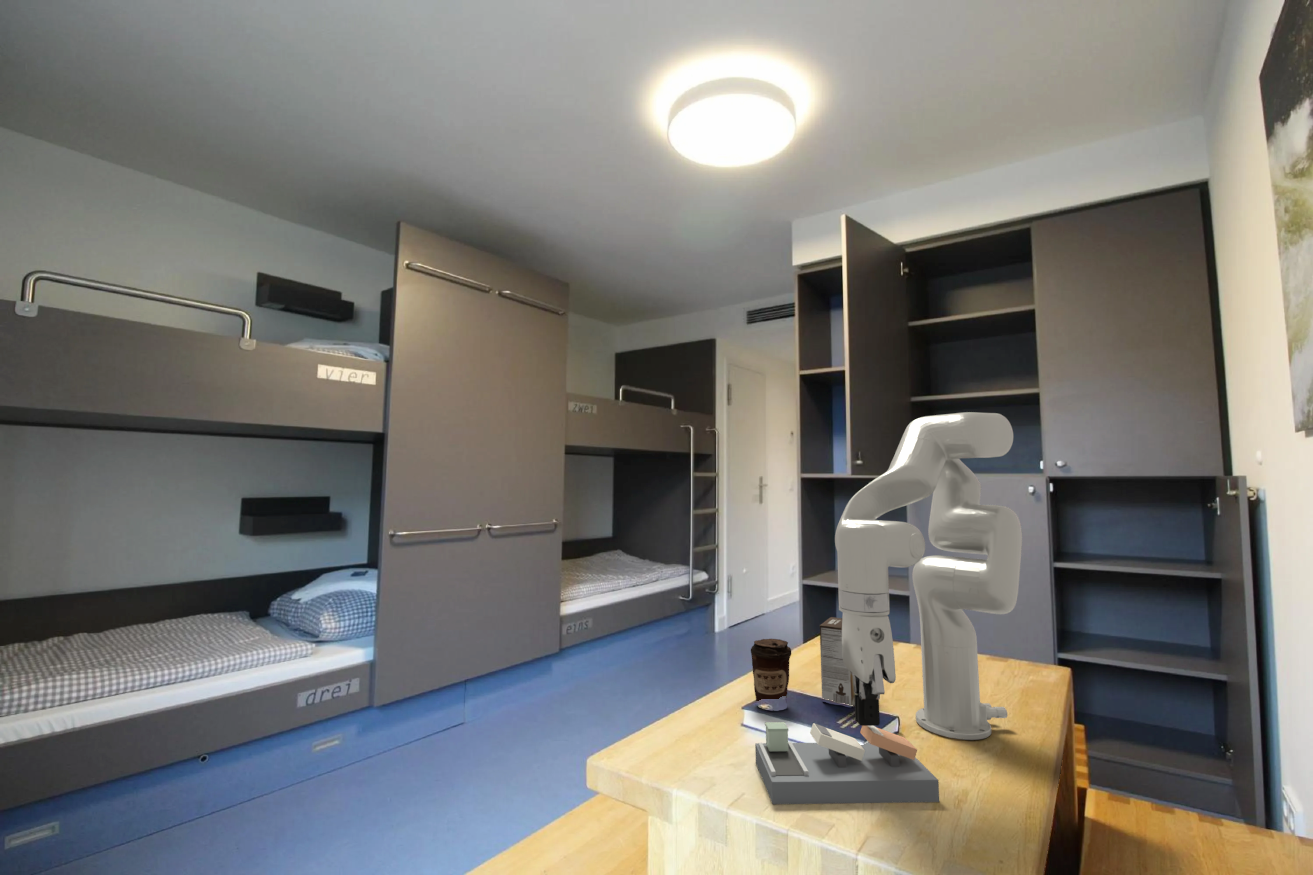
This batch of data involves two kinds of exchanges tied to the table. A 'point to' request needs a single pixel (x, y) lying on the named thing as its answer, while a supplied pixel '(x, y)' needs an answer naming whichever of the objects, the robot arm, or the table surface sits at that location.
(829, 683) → the coffee box
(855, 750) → the rocker cream
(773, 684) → the coffee cup
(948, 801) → the table surface
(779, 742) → the green slider block
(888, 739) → the rocker terracotta
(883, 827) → the table surface
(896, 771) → the panel
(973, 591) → the robot arm
